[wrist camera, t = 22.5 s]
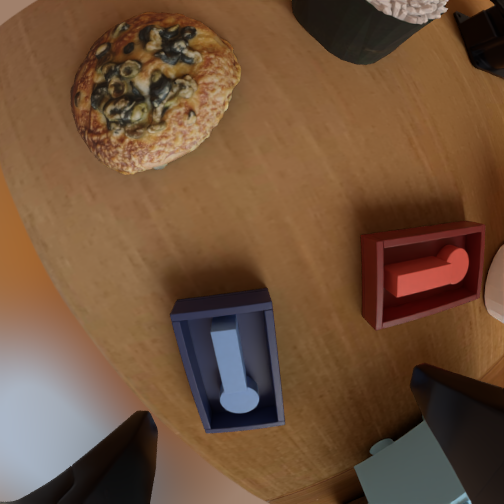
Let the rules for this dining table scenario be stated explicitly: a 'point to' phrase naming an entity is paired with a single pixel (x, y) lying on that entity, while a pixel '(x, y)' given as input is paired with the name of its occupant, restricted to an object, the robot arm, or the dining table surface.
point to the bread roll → (152, 90)
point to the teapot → (410, 471)
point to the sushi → (365, 24)
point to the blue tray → (254, 352)
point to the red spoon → (426, 272)
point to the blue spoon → (232, 366)
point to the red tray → (410, 248)
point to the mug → (496, 287)
